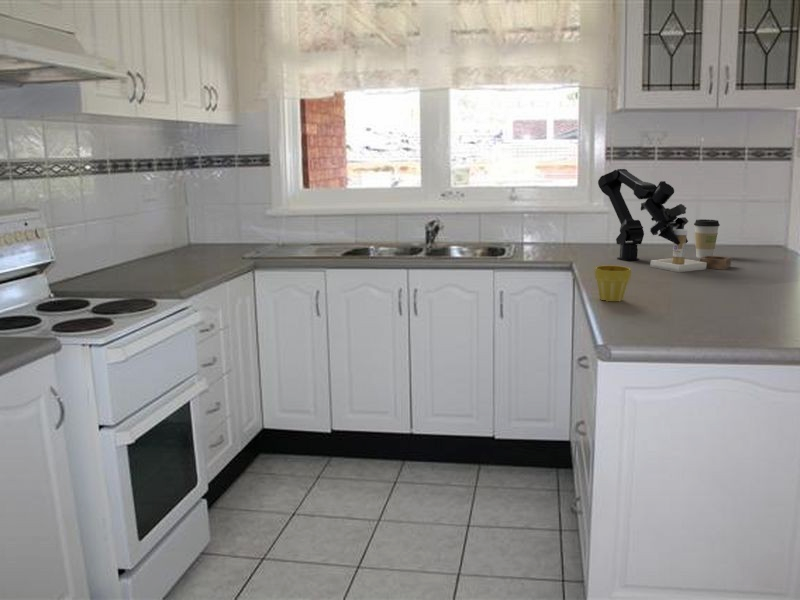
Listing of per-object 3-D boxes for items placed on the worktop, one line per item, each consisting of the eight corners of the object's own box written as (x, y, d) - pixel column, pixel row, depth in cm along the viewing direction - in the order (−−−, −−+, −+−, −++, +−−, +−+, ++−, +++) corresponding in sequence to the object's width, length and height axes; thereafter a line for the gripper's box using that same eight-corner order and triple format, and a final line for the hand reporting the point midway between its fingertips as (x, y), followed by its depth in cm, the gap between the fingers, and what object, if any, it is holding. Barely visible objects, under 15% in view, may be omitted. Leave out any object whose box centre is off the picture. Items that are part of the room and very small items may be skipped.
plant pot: (631, 303, 228) (633, 271, 226) (594, 302, 229) (596, 270, 227) (627, 297, 238) (629, 265, 236) (592, 296, 239) (594, 264, 237)
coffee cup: (719, 259, 312) (722, 221, 309) (693, 258, 314) (696, 221, 311) (714, 255, 321) (717, 219, 318) (689, 255, 323) (692, 219, 320)
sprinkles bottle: (669, 265, 291) (672, 229, 288) (676, 263, 294) (678, 228, 291) (680, 266, 288) (683, 230, 285) (687, 265, 290) (689, 229, 288)
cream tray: (650, 266, 293) (650, 260, 293) (677, 264, 300) (677, 257, 299) (678, 272, 281) (679, 265, 281) (706, 269, 288) (706, 262, 287)
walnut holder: (699, 267, 292) (700, 258, 291) (705, 264, 299) (706, 255, 298) (724, 269, 286) (725, 260, 286) (730, 266, 294) (731, 257, 293)
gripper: (659, 198, 282) (686, 231, 276) (685, 195, 294) (711, 227, 289) (639, 218, 289) (664, 251, 284) (664, 215, 302) (689, 246, 296)
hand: (683, 243), depth 288 cm, fingers open, 5 cm apart
